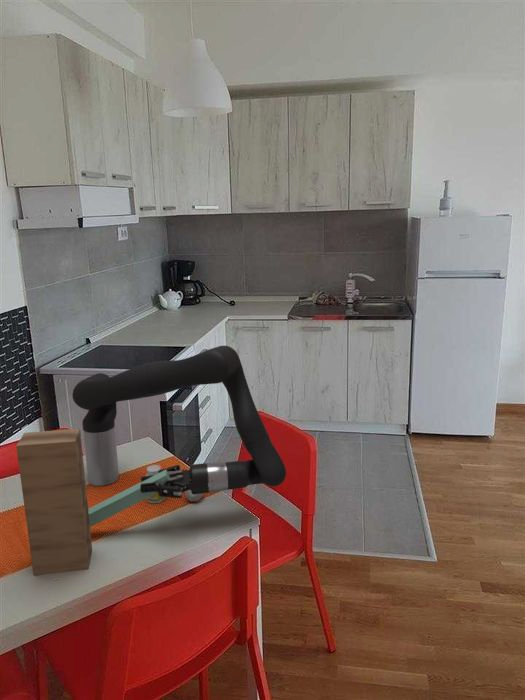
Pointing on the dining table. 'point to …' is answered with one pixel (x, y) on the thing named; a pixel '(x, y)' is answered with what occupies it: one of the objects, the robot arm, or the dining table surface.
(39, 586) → the dining table surface
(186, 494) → the grey rounded piece
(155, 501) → the supplement bottle
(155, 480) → the rod
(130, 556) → the dining table surface
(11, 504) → the dining table surface
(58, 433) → the stand
